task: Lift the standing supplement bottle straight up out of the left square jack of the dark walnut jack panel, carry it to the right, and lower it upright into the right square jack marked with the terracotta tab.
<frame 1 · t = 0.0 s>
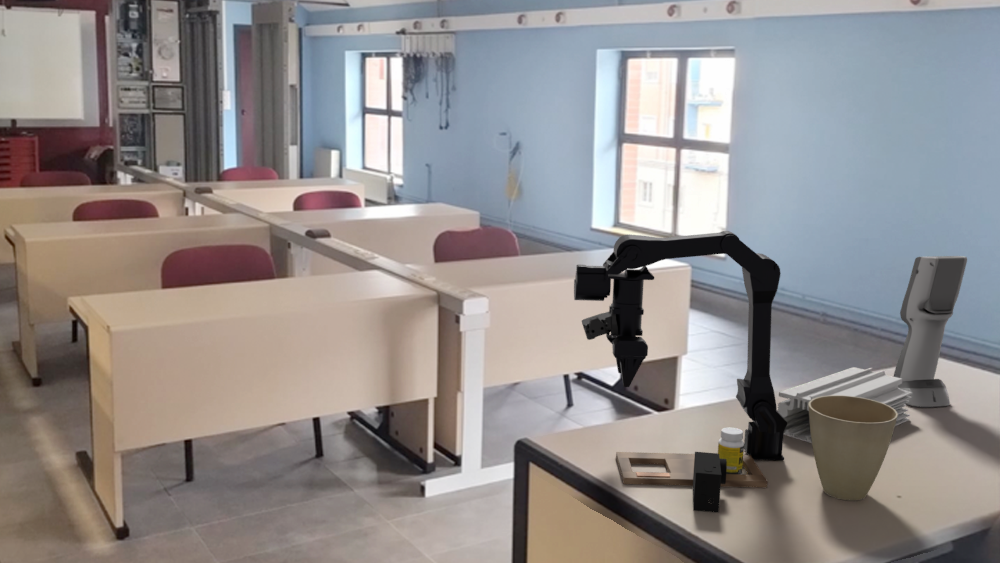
hand: (623, 379, 195), 15 cm above the table, tool pointing down, fingers open, 9 cm apart
supplement bottle: (728, 474, 188), resting in jack panel
digital camera: (708, 501, 176), on the table
plant pot: (844, 494, 180), on the table
aluminum extrusion profile: (843, 428, 217), on the table
jack panel: (688, 472, 188), on the table
thermal camera: (916, 399, 237), on the table
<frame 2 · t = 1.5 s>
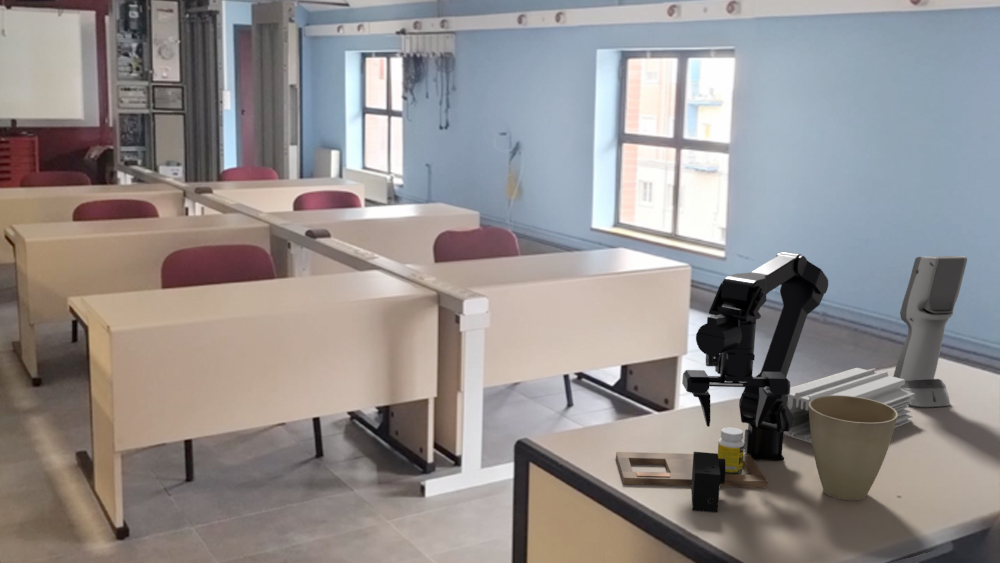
hand: (732, 426, 187), 9 cm above the table, tool pointing down, fingers open, 9 cm apart
nothing on the table moved.
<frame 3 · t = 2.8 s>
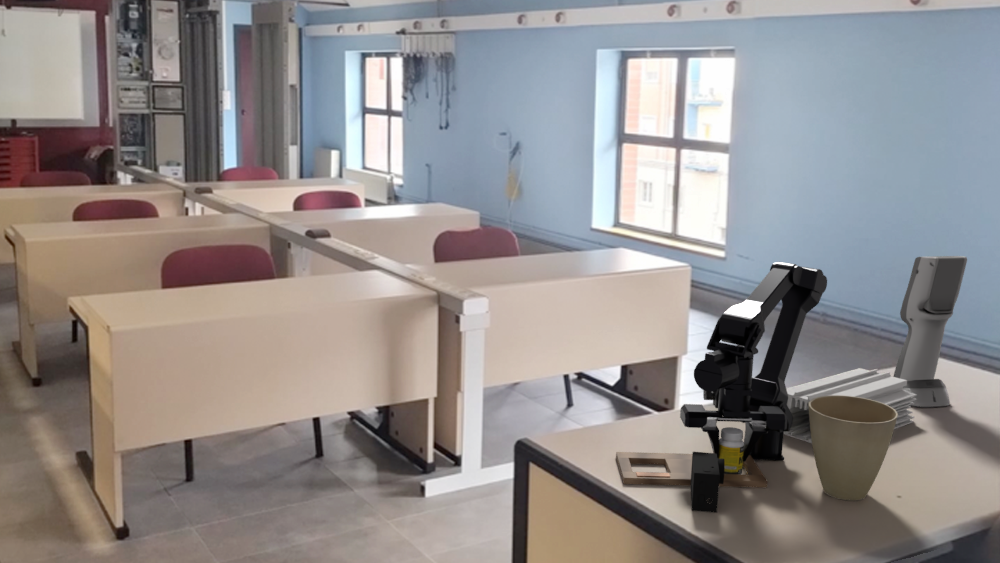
hand: (730, 460, 188), 3 cm above the table, tool pointing down, fingers closed on supplement bottle, 5 cm apart
supplement bottle: (728, 474, 188), resting in jack panel, touching gripper
everything else where it was.
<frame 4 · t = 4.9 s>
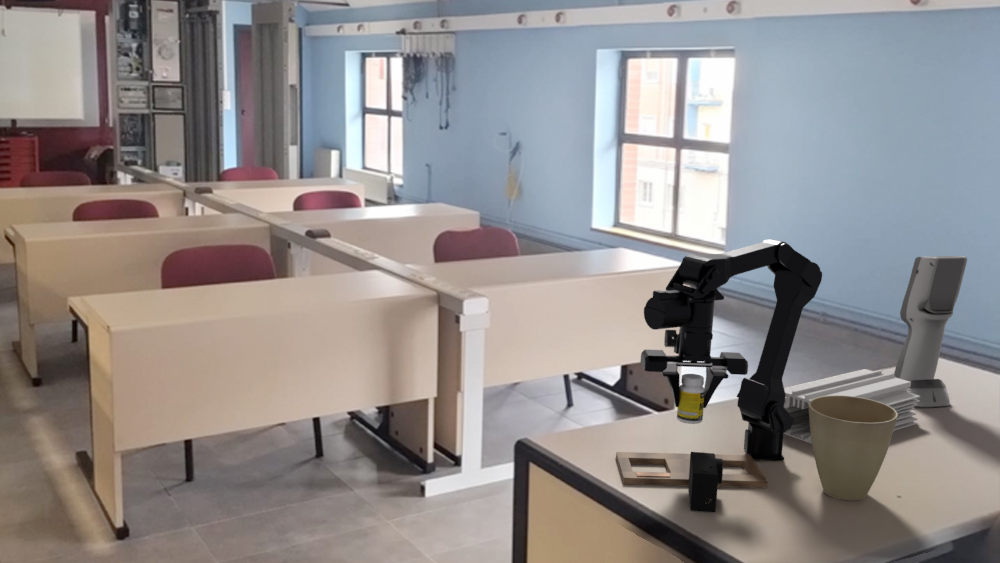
hand: (690, 406, 185), 13 cm above the table, tool pointing down, fingers closed on supplement bottle, 5 cm apart
supplement bottle: (689, 421, 186), point 10 cm above the table, touching gripper
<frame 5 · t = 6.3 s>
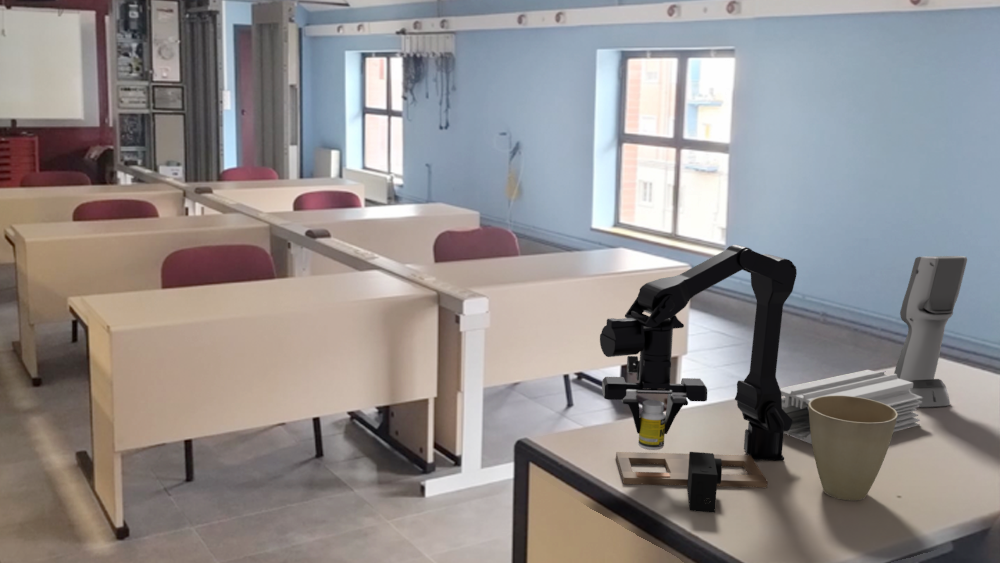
hand: (651, 433, 187), 7 cm above the table, tool pointing down, fingers closed on supplement bottle, 5 cm apart
supplement bottle: (651, 447, 187), point 5 cm above the table, touching gripper
when the fingers open (4 cm above the table, at t = 7.3 s): supplement bottle drops 1 cm, resting in jack panel.
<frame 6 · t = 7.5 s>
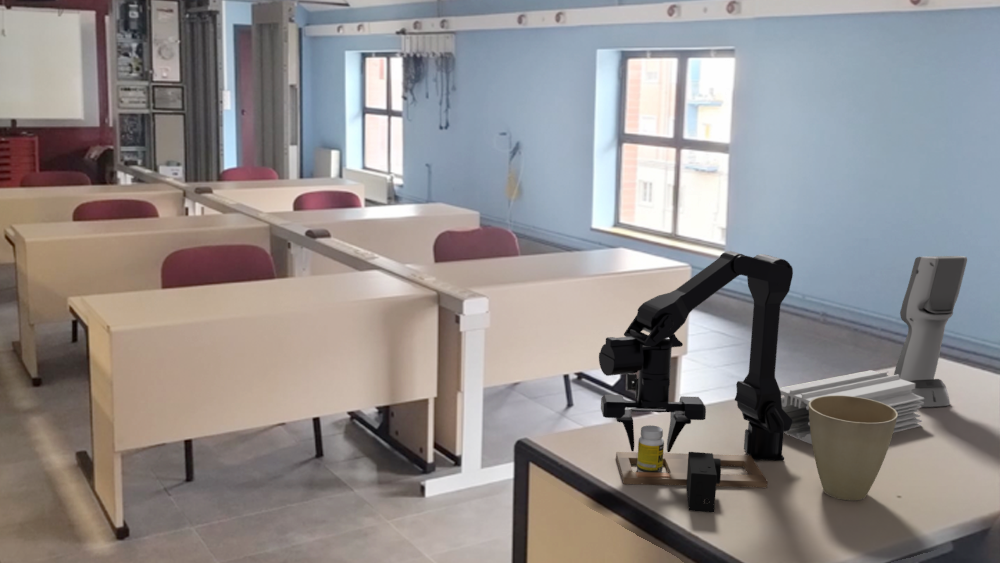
hand: (650, 451, 188), 4 cm above the table, tool pointing down, fingers open, 6 cm apart
supplement bottle: (649, 472, 188), resting in jack panel
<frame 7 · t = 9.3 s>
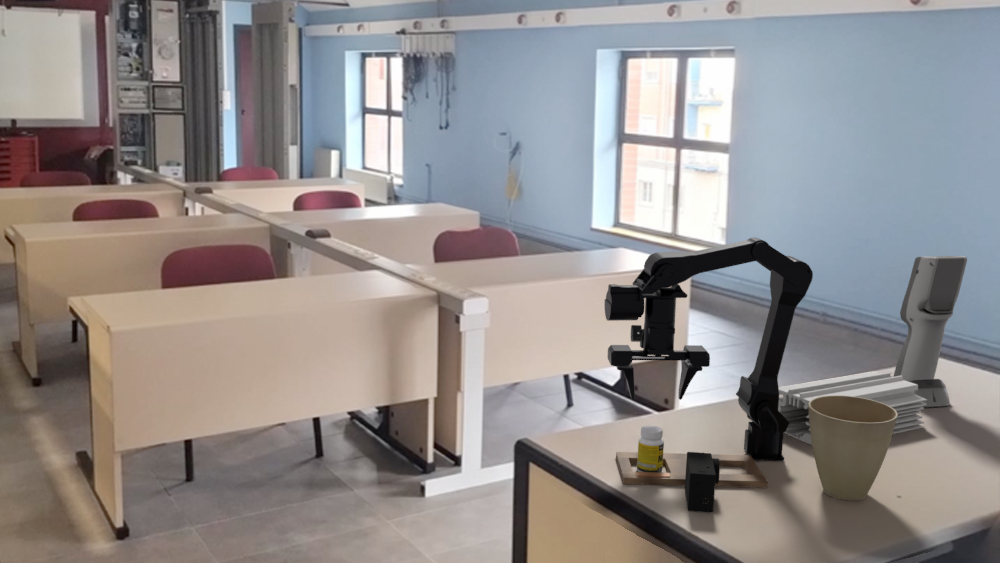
hand: (656, 398, 193), 12 cm above the table, tool pointing down, fingers open, 9 cm apart
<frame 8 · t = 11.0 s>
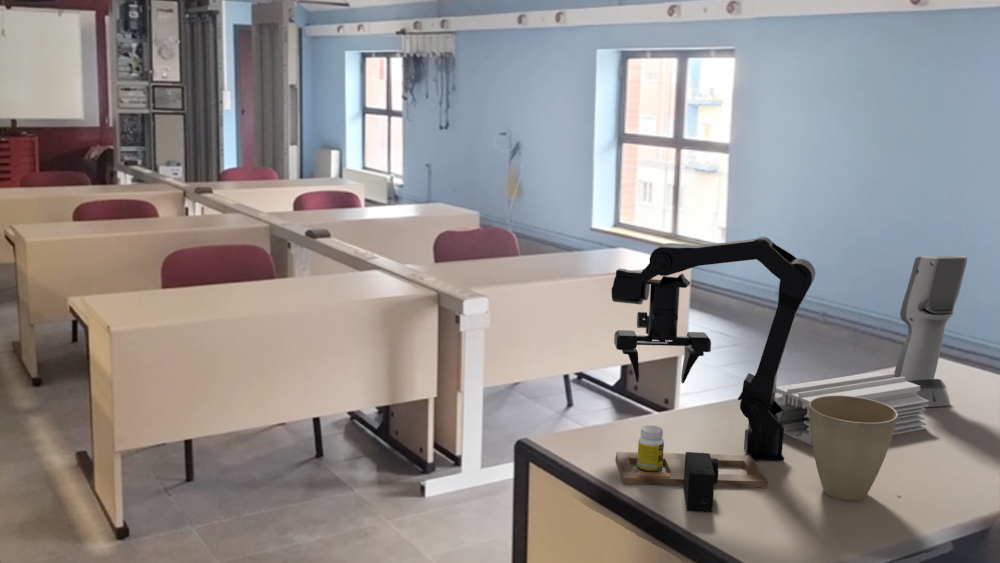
hand: (659, 382, 204), 12 cm above the table, tool pointing down, fingers open, 9 cm apart
at the end: supplement bottle 0.1 cm from the target spot, resting in jack panel; supplement bottle tilted 0°; the gripper is holding nothing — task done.
